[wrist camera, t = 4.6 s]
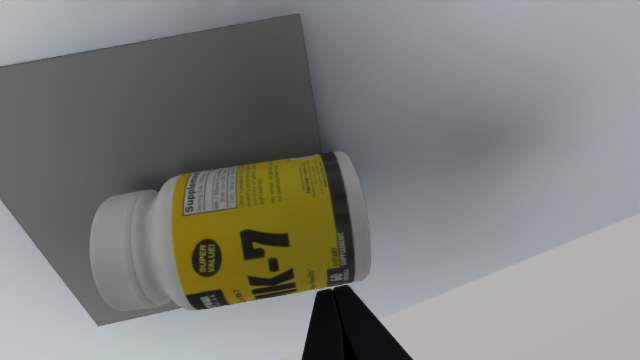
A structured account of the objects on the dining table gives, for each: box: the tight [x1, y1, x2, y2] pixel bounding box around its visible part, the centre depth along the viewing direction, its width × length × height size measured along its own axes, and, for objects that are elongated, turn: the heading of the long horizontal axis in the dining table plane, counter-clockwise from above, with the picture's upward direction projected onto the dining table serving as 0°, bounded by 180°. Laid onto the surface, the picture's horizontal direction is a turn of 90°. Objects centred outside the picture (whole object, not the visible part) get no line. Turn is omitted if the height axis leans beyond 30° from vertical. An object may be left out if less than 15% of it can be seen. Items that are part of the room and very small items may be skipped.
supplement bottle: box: [90, 151, 371, 311], centre depth 13 cm, size 5×5×8 cm
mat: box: [0, 14, 322, 326], centre depth 15 cm, size 12×12×1 cm
